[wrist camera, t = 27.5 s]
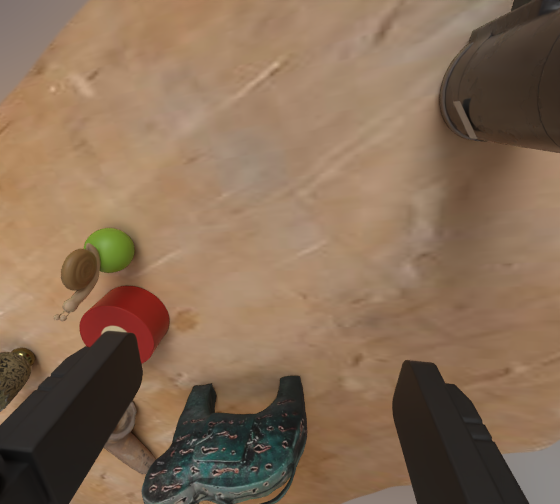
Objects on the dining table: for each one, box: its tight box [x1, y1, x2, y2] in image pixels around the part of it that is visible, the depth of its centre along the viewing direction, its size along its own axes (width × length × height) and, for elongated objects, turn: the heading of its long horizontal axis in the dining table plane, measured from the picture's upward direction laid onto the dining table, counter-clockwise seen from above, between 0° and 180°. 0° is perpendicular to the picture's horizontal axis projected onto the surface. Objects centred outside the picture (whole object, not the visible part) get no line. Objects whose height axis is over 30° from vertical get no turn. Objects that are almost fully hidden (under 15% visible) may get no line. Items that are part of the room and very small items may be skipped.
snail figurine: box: [54, 228, 135, 321], centre depth 35 cm, size 5×6×12 cm
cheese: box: [80, 286, 169, 364], centre depth 42 cm, size 10×10×5 cm
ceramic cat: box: [142, 376, 307, 504], centre depth 40 cm, size 20×6×20 cm, turn 102°
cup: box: [0, 348, 35, 412], centre depth 46 cm, size 7×7×8 cm
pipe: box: [104, 402, 155, 474], centre depth 53 cm, size 6×17×10 cm
